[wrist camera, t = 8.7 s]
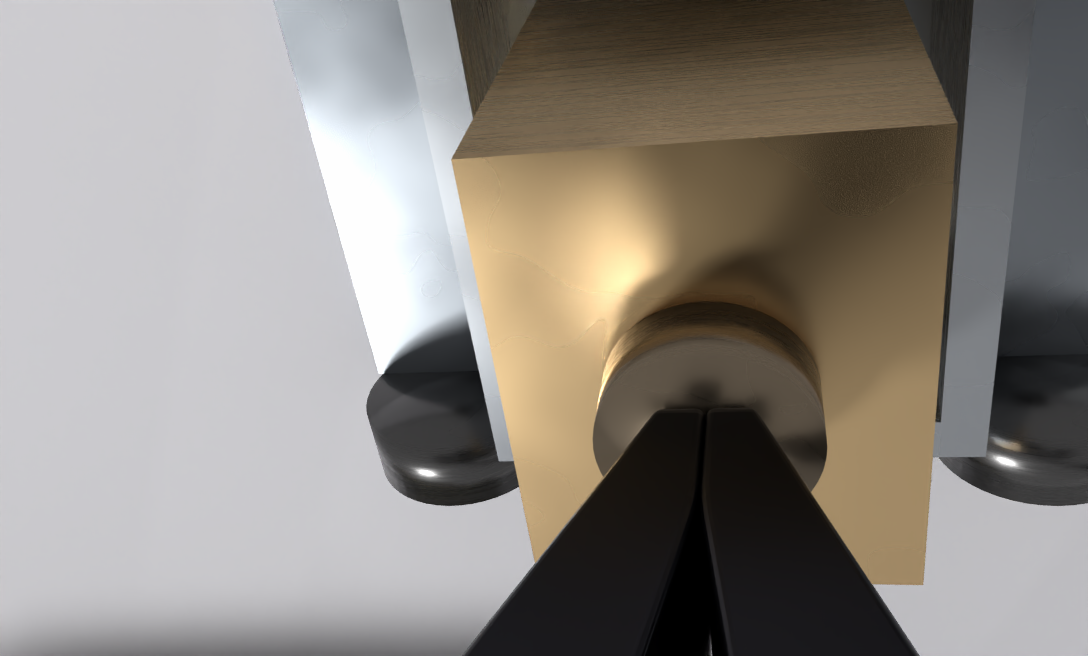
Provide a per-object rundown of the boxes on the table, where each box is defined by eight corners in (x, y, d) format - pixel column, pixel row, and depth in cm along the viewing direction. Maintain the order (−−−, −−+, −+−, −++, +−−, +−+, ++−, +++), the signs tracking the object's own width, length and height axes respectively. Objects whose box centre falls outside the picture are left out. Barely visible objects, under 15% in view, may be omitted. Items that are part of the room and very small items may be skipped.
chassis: (1253, -394, 11) (1427, -399, 8) (1110, 377, 17) (1186, 531, 14) (241, -231, 14) (111, -194, 11) (408, 393, 19) (351, 528, 16)
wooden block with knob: (873, -68, 13) (977, 169, 7) (864, 280, 15) (935, 648, 10) (555, -33, 14) (427, 202, 8) (598, 291, 16) (525, 636, 11)
